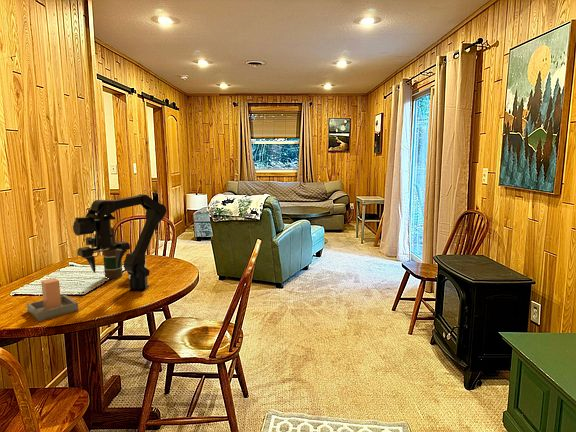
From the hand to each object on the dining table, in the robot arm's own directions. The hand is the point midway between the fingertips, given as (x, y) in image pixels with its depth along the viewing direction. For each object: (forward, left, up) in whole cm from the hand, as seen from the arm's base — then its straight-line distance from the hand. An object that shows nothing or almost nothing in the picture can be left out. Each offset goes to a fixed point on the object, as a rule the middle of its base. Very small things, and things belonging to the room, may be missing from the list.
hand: (106, 269), depth 160 cm
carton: (+15, +13, -11) cm, 23 cm away
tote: (+15, +13, -12) cm, 23 cm away
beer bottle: (+9, -29, -12) cm, 33 cm away
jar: (-3, -27, -12) cm, 30 cm away
